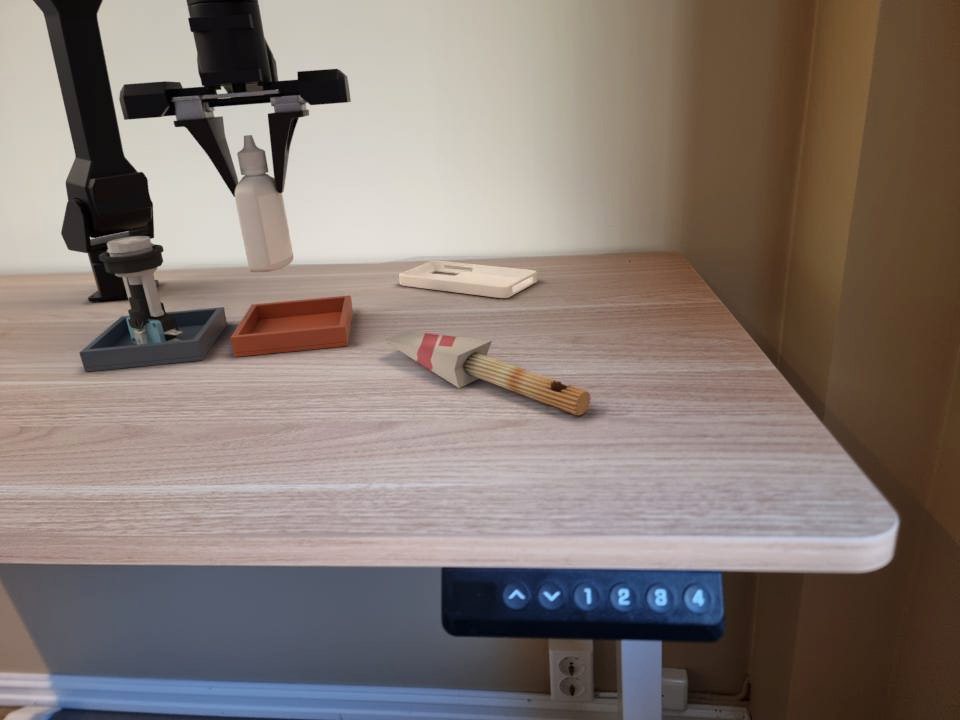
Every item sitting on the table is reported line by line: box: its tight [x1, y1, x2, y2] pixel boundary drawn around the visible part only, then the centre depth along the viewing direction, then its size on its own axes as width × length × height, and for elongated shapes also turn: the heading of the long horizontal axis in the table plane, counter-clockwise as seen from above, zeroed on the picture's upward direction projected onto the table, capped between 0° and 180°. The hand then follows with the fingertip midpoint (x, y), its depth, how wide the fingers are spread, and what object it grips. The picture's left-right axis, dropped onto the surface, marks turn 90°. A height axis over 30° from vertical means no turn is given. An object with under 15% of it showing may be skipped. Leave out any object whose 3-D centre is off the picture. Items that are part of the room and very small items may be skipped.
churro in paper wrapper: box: [383, 330, 592, 416], centre depth 53 cm, size 4×3×20 cm
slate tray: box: [78, 306, 228, 373], centre depth 65 cm, size 10×10×2 cm
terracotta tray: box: [230, 294, 354, 358], centre depth 67 cm, size 10×10×2 cm
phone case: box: [398, 260, 538, 299], centre depth 79 cm, size 7×1×15 cm
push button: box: [99, 236, 182, 345], centre depth 63 cm, size 7×5×10 cm
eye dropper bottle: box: [234, 134, 294, 273], centre depth 63 cm, size 4×6×12 cm
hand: (259, 194), depth 63 cm, fingers closed on eye dropper bottle, 4 cm apart
